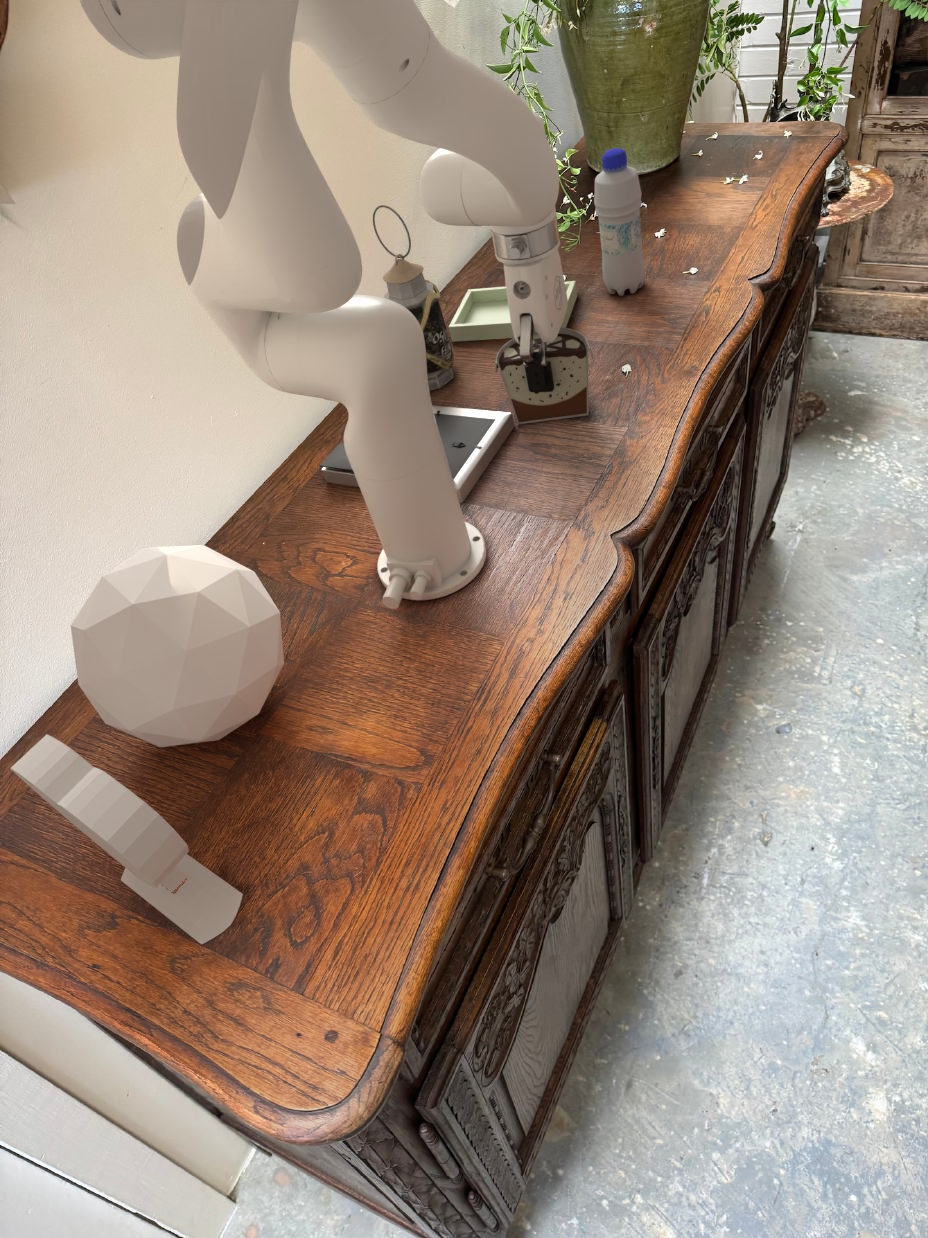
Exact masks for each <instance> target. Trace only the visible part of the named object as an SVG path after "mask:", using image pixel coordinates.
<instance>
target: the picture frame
mask: <svg viewBox="0 0 928 1238" xmlns="http://www.w3.org/2000/svg"><path fill="white" fill-rule="evenodd" d="M432 407H433V411H434V415H435V419H436V423H437V427H438V430H439V434H440V437H441V440H442V443H443V447H444V451H445V454H446V458H447V461H448V465H449V468H450V472H451V475H452V479H453V482H454V486H455V489H456V493H457V496H458V500H459V503H464V501H466V498H467V497H468V495H470V493H471V491H472V490H473V488H474V487H475V485H476V484H477V483H478V481H479V480H480V478H481V477H482V475H483V474H484V472H485V470H486V469H487V468H488V466H489V465H490V464H491V462H492V460H493V459H494V458H495V456H496V455H497V453H498V451H499V450H500V448H501V447H502V446H503V444H504V443H505V441H506V440H507V438H508V437H509V436H510V434H511V432H512V431H513V429H515V426H516V425H515V420H514V416H513V415H514V414H513V412H508V411H507V412H506V411H498V410H497V411H496V410H485V409H474V408H463V407H454V406H441V405H432ZM319 467H320V468H321V470H320V471H321V473H322V475H323V478H324V480H325V482H326V483H329V484H335V485H336V484H337V485H343V486H349V487H356V488H360V487H359V485H358V482H357V479H356V477H355V474H354V472H353V470H352V468H351V465H350V463H349V460H348V457H347V454H346V451H345V447H344V442H339V443H338V444H337V445H336V446H335V447H334V449H332V450H331V452H330V453H329V454H328V455H327V456H326V457H325V458H324V459H323V460H322V462H321V463H320V464H319Z"/></svg>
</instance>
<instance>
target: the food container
mask: <svg viewBox="0 0 928 1238" xmlns="http://www.w3.org/2000/svg"><path fill="white" fill-rule="evenodd" d="M539 338H540V337H539V335H538V334H533V339H539ZM533 349H534V352H538V353H539V354H540V355H541V353H540V344H537V345H533ZM589 353H590V357H591V358H592V359H591V360H593V359H595V358H594V353H593V350H592V348H591V345H590V343H589V341H588V340H587V338H586V336H585V335H584V334H582V333H581V332H579V331H577V330H576V329H573V328H569V327H566V328H562V327H561V328H560V330H559V333H558V335H557V337H556V339H555V340H554V341H553V342H552V343H549V342H547V361H550V362H551V369H552V375H553V381H554V390H553V391H552V392H530V391H529V388H528V383H527V377H526V372H525V367H524V364H523V359H522V358H521V357H520V344H518V343H517V342H516V340H515V338H510V340H509V341H507V342H505V343H504V344H503V345H502V347H500V348H499V350H498V352H497V354H496V356H495V362H494V373H495V374H497V372H498V370H499V373H500V376H501V378H502V379H501V380H502V382H503V385H504V388H505V391H506V394H507V397H508V400H509V403H510V406H511V409H512V413H513V415H514V418H515V421H516V424H517V425H525V424H531V423H532V424H533V423H540V422H547V421H555V420H563V419H570V418H577V417H585V416H589V415H590V414H589V412H590V411H589V409H590V408H589V406H590V405H589V404H590V403H589V401H590V400H589V399H590V398H589V397H590V396H589Z"/></svg>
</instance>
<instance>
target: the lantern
mask: <svg viewBox="0 0 928 1238" xmlns="http://www.w3.org/2000/svg"><path fill="white" fill-rule="evenodd" d="M381 208H385V209H387V210H390V211H391V212H392V213H394V214H395V215H396V217H398V219H399V221H401V223H402V225H403V227H404V229H405V232H406V235H407V238H408V239H407V240H408V249H407V252H406V253H405V254H404V255H403V254H402V253H397V254H395V253H393V252H391V250H389V248H388V247H386V245H385V244H384V243H383V241H382V239H381V238H380V235H379V232H378V230H377V226H376V220H375V219H376V213H377V211H378V210H379V209H381ZM372 226H373V230H374V232H375V235H376V237H377V240H378V241H379V242H380V245H381V246H382V248H383V249H384V250H385V251H386V252H387V253H388V254H390V256H393V257H394V263H393V264H392V266H391V268H390V269H388V271H386V272H385V273H384V274H383V276H382V280H383V281H384V283H386V287H387V292H386V293H385V294H384V296H383V298H385V299H389V300H391V301H394V302H396V303H398V304H400V305H402V306H404V307H405V308H406V309H408V310H409V311H410V312H411V313H412V314H413V315H414V316H415V318H416V319H417V321H418V322H419V324H420V326H421V329H422V332H423V335H424V340H425V348H426V361H427V376H428V385H429V392H430V391H434V390H438V389H441V388H442V387H444V386H445V385H446V384H448V383H449V382H450V381H451V380H453V379H454V367H453V366H454V362H455V352H454V351H453V347H452V346H453V345H452V343H451V340H450V339H451V338H450V336H449V333H448V332H449V331H448V328H447V325H446V322H445V318H444V315H443V311H442V309H441V304H440V299H441V292H440V290H439V289H438V287H437V285H436V284H434V283H433V282H432V281H430V280H429V279H425V276H424V273H423V272H424V267H423V265H420V264H417V263H413V262H410V261H408V260H406V259H405V258H406V257H408V255H409V254H410V251H411V248H412V241H411V240H412V239H411V236H410V231H409V229H408V226H407V225H406V223H405V221H404V220H403V218H402V217H401V216H400V214H399V213H398V212H397V211H396V210H395V209H393V208H392V207H390V206H389V205H384V204H381V205H378V206H377V207H375V209H374V210H373V213H372Z"/></svg>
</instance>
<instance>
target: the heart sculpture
mask: <svg viewBox="0 0 928 1238" xmlns="http://www.w3.org/2000/svg"><path fill="white" fill-rule="evenodd" d="M9 768H10V769H9V770H11V771H12V772H13V773H14V774H15V775H16V776H17V777H19V779H21V780H22V781H23V782H24V783H25V784H26V785H27V786H28V787H30V788H31V790H33V791H34V792H35V793H36V794H37V795H38V796H39V797H41V798H42V800H44V801H45V802H47V804H49V806H51V807H52V808H54V809H55V810H56V811H57V812H58V813H59V814H61V815H62V816H63V817H64V818H65V819H66V820H67V821H69V822H70V823H71V824H72V825H73V826H74V827H76V828H77V829H78V830H79V831H81V832H82V833H83V834H84V835H85V836H86V837H88V838H89V839H90V840H91V841H92V842H94V843H95V844H96V845H97V846H98V847H100V848H101V849H102V850H103V851H104V852H106V853H107V854H108V855H109V856H111V858H113V859H114V860H115V861H116V862H118V863H119V864H120V865H121V866H123V867H124V870H123V873H122V875H121V878H120V881H121V882H122V883H124V885H126V886H127V887H128V888H130V889H131V890H132V891H133V892H134V893H136V894H137V895H139V896H140V897H141V898H142V899H143V900H145V901H146V902H147V903H148V904H149V905H151V906H152V907H154V908H155V909H156V910H157V911H158V912H159V913H161V914H162V915H164V916H165V917H166V918H167V919H168V920H170V921H171V922H172V923H174V924H175V925H176V926H177V927H179V928H180V929H181V930H182V931H184V932H185V933H186V934H188V936H189V937H191V938H192V939H194V940H195V941H196V942H198V943H199V944H200V945H204V944H205V943H207V942H209V941H211V940H213V939H215V938H216V937H217V936H219V935H221V934H222V933H223V932H225V931H226V930H227V929H228V928H229V927H230V926H232V924H233V922H234V920H235V918H236V917H237V915H238V912H239V909H240V906H241V903H242V900H243V896H244V893H242V892H241V891H240V890H238V889H237V888H235V887H234V886H233V885H231V884H229V882H227V881H226V880H224V879H223V878H222V877H220V876H218V875H217V874H216V873H214V872H213V871H212V870H210V869H208V868H207V867H206V866H204V865H203V864H202V863H200V862H199V861H197V860H196V859H195V858H193V857H192V856H191V855H189V854H188V853H189V852H190V849H189V845H188V844H187V842H186V841H185V840H184V839H183V838H182V836H180V834H179V833H178V832H177V830H175V828H173V826H172V825H170V823H169V822H168V821H166V819H165V818H164V817H163V816H162V815H161V814H160V813H158V812H157V811H156V810H155V809H154V808H153V807H151V806H150V805H149V804H147V803H146V802H145V801H144V800H143V799H141V798H140V797H139V796H137V794H135V793H134V792H133V791H131V790H130V789H129V788H127V787H126V786H125V785H123V784H122V783H121V782H119V781H118V780H117V779H116V778H114V777H112V776H111V775H110V774H109V773H107V772H106V771H104V770H102V769H101V768H99V767H95V766H93V765H92V764H91V763H90V762H89V761H87V759H85V758H84V757H82V756H81V755H80V754H79V753H77V751H75V750H73V749H72V748H71V747H69V746H68V745H66V744H65V743H63V742H62V741H60V740H59V739H57V738H55V737H53V736H51V735H49V734H47V733H46V734H45V735H44V736H43V737H42V738H41V739H40V740H39V741H38V742H36V743H35V744H34V745H33V746H32V747H31V748H30V749H29V750H28V751H27V752H26V753H25V754H24V755H23V756H22V757H21V758H20V759H18V760H17V761H16V762H15V763H14V764H13V765H12V766H11V767H9ZM186 878H188V879H187V880H186V881H185V883H184V884H183V885H182V886H181V887H180V888H179V889H178V891H177V892H176V893H175V894H173V893H171V892H173V891H174V890H175V889H177V887H178V886H179V885H180V884H181V883H182V881H184V879H186ZM162 885H163V886H162ZM166 888H167V889H168V890H167V889H166Z"/></svg>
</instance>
